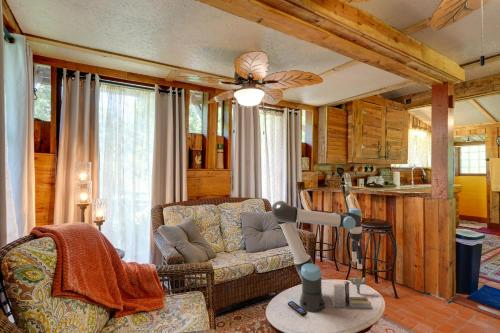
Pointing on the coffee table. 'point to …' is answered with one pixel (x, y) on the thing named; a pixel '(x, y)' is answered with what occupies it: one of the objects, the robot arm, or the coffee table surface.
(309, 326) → the coffee table surface
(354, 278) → the mechanical component
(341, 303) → the hinge base
